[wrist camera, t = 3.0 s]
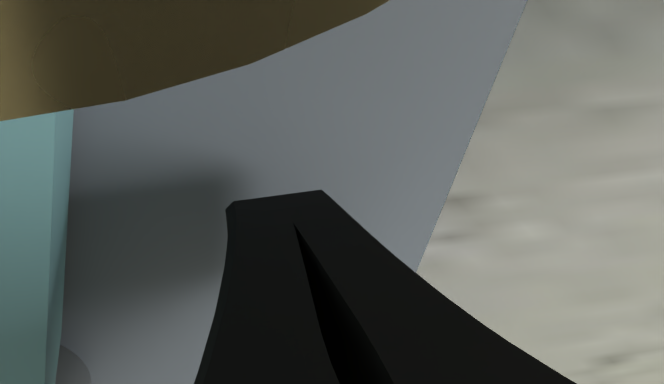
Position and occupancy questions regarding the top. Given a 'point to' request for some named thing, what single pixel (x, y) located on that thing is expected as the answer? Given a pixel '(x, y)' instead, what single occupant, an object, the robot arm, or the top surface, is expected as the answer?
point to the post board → (265, 169)
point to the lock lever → (35, 250)
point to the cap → (143, 45)
